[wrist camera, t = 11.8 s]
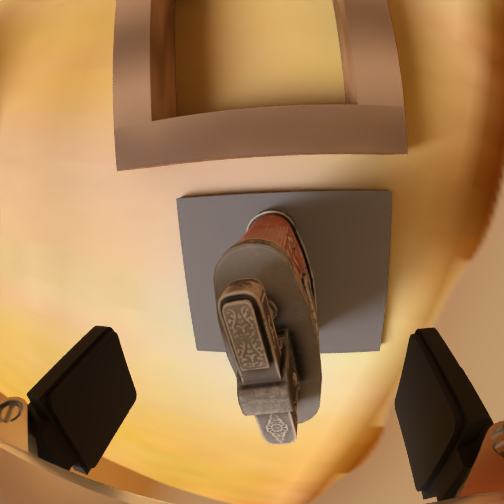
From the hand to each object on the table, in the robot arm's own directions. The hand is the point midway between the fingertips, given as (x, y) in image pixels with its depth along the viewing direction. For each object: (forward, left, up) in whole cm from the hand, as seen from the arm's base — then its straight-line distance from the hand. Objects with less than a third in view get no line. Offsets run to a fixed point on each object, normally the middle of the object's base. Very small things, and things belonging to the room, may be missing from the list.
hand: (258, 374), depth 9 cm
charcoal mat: (+1, 0, -10) cm, 10 cm away
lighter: (0, 0, -10) cm, 10 cm away
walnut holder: (-13, -1, -10) cm, 17 cm away
